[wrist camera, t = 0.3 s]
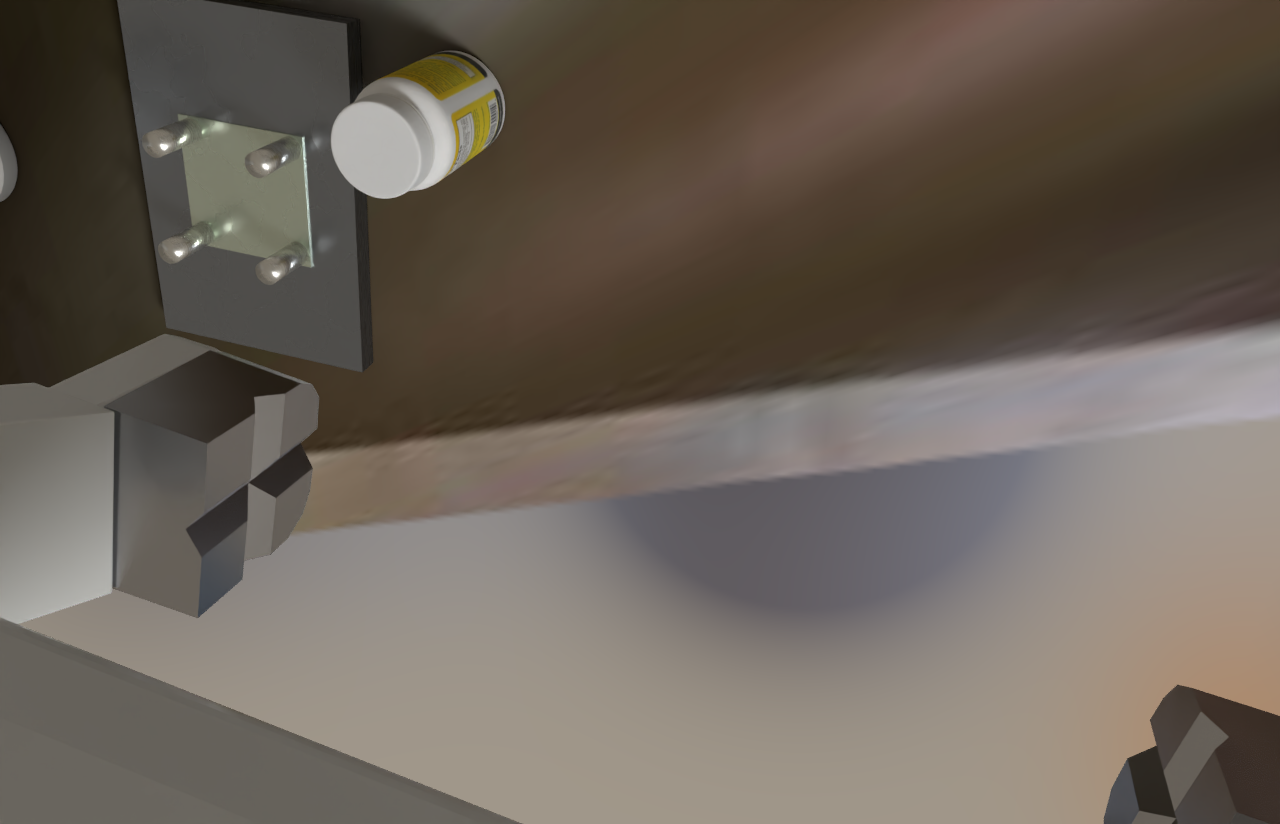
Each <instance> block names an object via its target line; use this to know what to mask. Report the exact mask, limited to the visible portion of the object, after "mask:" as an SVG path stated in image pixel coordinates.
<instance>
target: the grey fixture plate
mask: <svg viewBox="0 0 1280 824" xmlns="http://www.w3.org/2000/svg"><path fill="white" fill-rule="evenodd" d="M117 2H118V9H119V15H120V22H121V29H122V35H123V42H124V49H125V55H126V62H127V68H128V75H129V82H130V88H131V95H132V102H133V108H134V115H135V121H136V128H137V135H138V141H139V148H140V155H141V161H142V168H143V174H144V181H145V188H146V194H147V201H148V208H149V214H150V221H151V228H152V234H153V241H154V247H155V254H156V261H157V267H158V274H159V281H160V287H161V294H162V300H163V307H164V314H165V320H166V327H167V328H171V329H175V330H180V331H184V332H188V333H193V334H197V335H201V336H206V337H210V338H215V339H219V340H223V341H228V342H232V343H236V344H241V345H245V346H250V347H254V348H258V349H263V350H267V351H271V352H276V353H280V354H284V355H289V356H293V357H298V358H302V359H306V360H311V361H315V362H319V363H324V364H328V365H333V366H337V367H341V368H346V369H350V370H354V371H359V372H363V371H364V370H366V369H367V368H368V367H369V366H370V365H371V364H372V363H373V348H372V322H371V297H370V272H369V246H368V221H367V196H366V194H365V193H363V192H361V191H359V190H358V189H357V188H355V187H354V186H353V185H352V184H350V183H349V182H348V181H347V179H346V178H345V177H344V176H343V174H342V173H341V172H340V170H339V168H338V166H337V164H336V162H335V160H334V157H333V153H332V149H331V132H332V127H333V124H334V122H335V120H336V118H337V116H338V115H339V113H340V112H341V111H342V110H343V109H344V108H345V107H347V106H348V105H350V104H352V103H353V102H355V100H356V98H357V96H358V95H359V94H360V93H361V91H362V69H361V44H360V19H354V18H348V17H342V16H336V15H330V14H323V13H317V12H311V11H305V10H299V9H293V8H286V7H280V6H274V5H268V4H262V3H256V2H249V1H243V0H117Z"/></svg>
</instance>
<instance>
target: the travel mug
mask: <svg viewBox="0 0 1280 824" xmlns="http://www.w3.org/2000/svg"><path fill="white" fill-rule="evenodd" d="M17 170H18V168H17V160H16V155H15V152H14V149H13V146H12V144H11V141H10V139H9V137H8V135H7V133H6V132H5V130H4V129H3V127H2V125H1V124H0V202H1V201H3V200H5V199H6V198H7V197H8V196H9V195H10V194H11V192H12V190H13V189H14V187H15V183H16V180H17Z"/></svg>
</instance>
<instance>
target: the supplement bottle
mask: <svg viewBox="0 0 1280 824" xmlns="http://www.w3.org/2000/svg"><path fill="white" fill-rule="evenodd" d="M504 117H505V102H504V96H503V93H502V90H501V88H500V85H499V83H498V81H497V80H496V78H495V77H494V75H493V74H492V73H491V71H490V70H489V69H488V68H487V67H486V66H485V65H484V64H483V63H482V62H481V61H479V60H478V59H477V58H475V57H473V56H471V55H469V54H467V53H464V52H460V51H442V52H438V53H435V54H432V55H430V56H427V57H426V58H423V59H421V60H419V61H417V62H415V63H413V64H410V65H408V66H406V67H404V68H402V69H400V70H397V71H395V72H393V73H391V74H389V75H386V76H384V77H382V78H380V79H378V80H376V81H374V82H372V83H371V84H369V85H368V86H367V87H365V88H364V89H363V90H362V91H361V93H360V94H359V95H358V96H357V98H356V100H355V102H353V103H352V104H350V105H348V106H347V107H345V108H344V109H343V110H342V111H341V112H340V113H339V115H338V116H337V118H336V120H335V122H334V124H333V127H332V132H331V149H332V153H333V157H334V160H335V162H336V164H337V166H338V168H339V170H340V172H341V173H342V174H343V176H344V177H345V178H346V179H347V181H348V182H349V183H350V184H352V185H353V186H354V187H355V188H357V189H358V190H359V191H361V192H363V193H365V194H367V195H370V196H372V197H376V198H394V197H398V196H400V195H402V194H404V193H406V192H408V191H413V190H421V189H425V188H428V187H430V186H432V185H434V184H436V183H438V182H439V181H441V180H442V179H443V178H445V177H446V176H448V175H449V174H450V173H452V172H453V171H455V170H456V169H458V168H459V167H460V166H462V165H463V164H464V163H466V162H467V161H469V160H470V159H471V158H473V157H474V156H475V155H477V154H478V153H480V152H481V151H482V150H484V149H485V148H487V147H488V146H489V145H490V144H491V143H492V142H493V141H494V140H495V139H496V138H497V136H498V134H499V133H500V131H501V128H502V126H503V122H504Z"/></svg>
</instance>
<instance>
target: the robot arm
mask: <svg viewBox="0 0 1280 824" xmlns="http://www.w3.org/2000/svg"><path fill="white" fill-rule="evenodd" d="M318 406H319V397H318V395H317V393H316V391H315V389H314V387H313V385H312V384H310V383H307V382H304V381H302V380H299V379H296V378H293V377H291V376H288V375H285V374H282V373H280V372H277V371H274V370H272V369H269V368H266V367H263V366H261V365H258V364H255V363H252V362H250V361H247V360H244V359H242V358H239V357H236V356H233V355H231V354H228V353H225V352H220V351H219V350H218V349H216V348H214V347H210V346H207V345H204V344H201V343H198V342H194V341H191V340H188V339H185V338H182V337H178V336H173V335H168V334H163V335H161V336H159V337H157V338H155V339H152V340H150V341H148V342H146V343H144V344H142V345H140V346H137V347H135V348H133V349H131V350H129V351H127V352H124V353H122V354H120V355H118V356H116V357H114V358H112V359H109V360H107V361H105V362H103V363H101V364H99V365H97V366H94V367H92V368H90V369H88V370H86V371H84V372H82V373H79V374H77V375H75V376H73V377H71V378H69V379H67V380H64V381H62V382H60V383H58V384H56V385H54V386H52V387H49V388H47V387H44V386H41V385H39V384H36V383H24V384H12V385H0V824H522V823H519V822H516V821H514V820H511V819H509V818H506V817H504V816H501V815H498V814H496V813H494V812H491V811H489V810H486V809H484V808H481V807H478V806H476V805H473V804H471V803H468V802H466V801H463V800H461V799H458V798H456V797H453V796H451V795H448V794H445V793H443V792H441V791H438V790H436V789H433V788H431V787H428V786H425V785H423V784H420V783H418V782H415V781H413V780H410V779H408V778H405V777H403V776H400V775H397V774H395V773H392V772H390V771H388V770H385V769H382V768H380V767H377V766H375V765H372V764H370V763H367V762H365V761H362V760H360V759H357V758H355V757H352V756H349V755H347V754H344V753H342V752H339V751H337V750H334V749H332V748H329V747H327V746H324V745H322V744H319V743H317V742H314V741H312V740H309V739H307V738H304V737H302V736H299V735H297V734H294V733H291V732H289V731H286V730H284V729H281V728H279V727H276V726H274V725H271V724H269V723H266V722H263V721H261V720H259V719H256V718H254V717H251V716H248V715H246V714H243V713H241V712H238V711H236V710H233V709H231V708H228V707H226V706H223V705H221V704H218V703H216V702H213V701H211V700H208V699H205V698H203V697H200V696H198V695H195V694H193V693H190V692H188V691H185V690H183V689H180V688H177V687H175V686H173V685H170V684H168V683H165V682H162V681H160V680H157V679H155V678H152V677H150V676H147V675H145V674H142V673H140V672H137V671H135V670H132V669H130V668H127V667H125V666H122V665H120V664H117V663H114V662H112V661H109V660H107V659H104V658H102V657H99V656H97V655H94V654H92V653H89V652H87V651H84V650H82V649H79V648H77V647H74V646H71V645H69V644H66V643H64V642H61V641H59V640H56V639H54V638H51V637H49V636H46V635H44V634H41V633H39V632H36V631H33V630H31V629H28V628H26V627H23V626H21V625H18V624H20V623H23V622H26V621H29V620H32V619H35V618H38V617H41V616H44V615H46V614H50V613H53V612H56V611H59V610H61V609H65V608H68V607H71V606H74V605H76V604H80V603H83V602H86V601H89V600H92V599H95V598H98V597H101V596H104V595H107V594H110V593H112V588H113V589H116V590H119V591H122V592H125V593H128V594H131V595H134V596H136V597H139V598H142V599H145V600H148V601H150V602H153V603H156V604H159V605H162V606H165V607H168V608H171V609H173V610H176V611H179V612H182V613H185V614H188V615H190V616H193V617H196V618H199V617H200V616H201V615H202V614H203V613H204V612H205V611H207V610H208V609H209V608H210V607H211V606H212V605H213V604H215V603H216V602H217V601H218V600H219V599H220V598H221V597H223V596H224V595H225V594H226V593H227V592H228V591H230V590H231V589H232V588H233V587H234V586H235V585H236V584H238V583H239V582H240V581H241V580H242V577H243V565H244V561H246V560H250V559H254V558H258V557H263V556H267V555H271V554H272V553H273V552H274V551H275V550H276V549H277V548H278V547H279V546H280V545H281V544H282V543H283V542H285V541H286V540H287V539H288V537H289V536H290V534H291V532H292V531H293V529H294V527H295V526H296V524H297V522H298V521H299V519H300V517H301V516H302V514H303V511H304V508H305V505H306V502H307V498H308V495H309V492H310V486H311V478H312V470H313V468H312V466H311V464H310V462H309V460H308V458H307V456H306V454H305V451H304V449H303V447H302V445H301V442H302V441H303V440H305V439H306V438H307V437H308V436H309V435H310V434H311V433H312V432H314V431H315V430H316V429H317V421H318ZM1150 722H1151V725H1152V729H1153V733H1154V737H1155V741H1156V745H1157V746H1155V747H1153V748H1151V749H1148V750H1146V751H1144V752H1141V753H1139V754H1137V755H1134V756H1132V757H1130V758H1128V759H1127V760H1126V762H1125V764H1124V766H1123V768H1122V770H1121V772H1120V774H1119V775H1118V777H1117V779H1116V781H1115V783H1114V785H1113V787H1112V789H1111V793H1110V797H1109V801H1108V804H1107V808H1106V813H1105V816H1104V824H1280V716H1278V715H1275V714H1272V713H1269V712H1265V711H1262V710H1259V709H1256V708H1253V707H1250V706H1247V705H1243V704H1240V703H1237V702H1234V701H1231V700H1228V699H1224V698H1222V697H1218V696H1215V695H1212V694H1209V693H1205V692H1203V691H1200V690H1196V689H1193V688H1189V687H1185V686H1180V685H1177V686H1176V687H1175V688H1174V689H1173V690H1171V691H1170V692H1169V693H1168V694H1167V695H1166V696H1165V697H1164V698H1163V700H1162V701H1161V703H1160V705H1159V706H1158V708H1157V709H1156V711H1155V713H1154V715H1153V716H1152V718H1151V719H1150Z"/></svg>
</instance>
